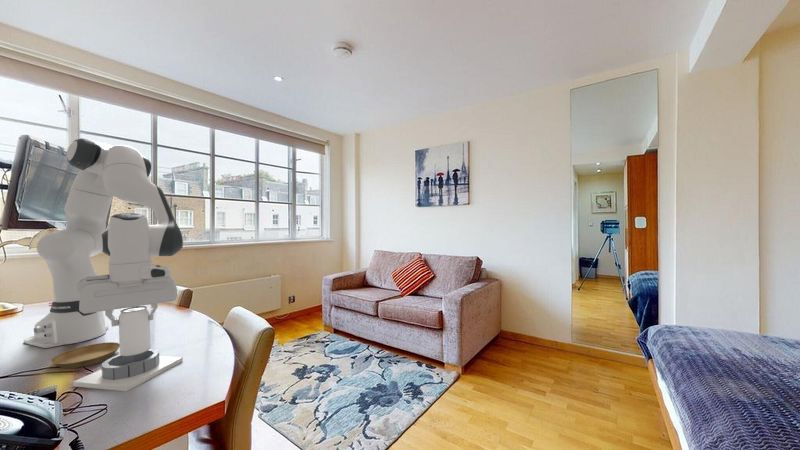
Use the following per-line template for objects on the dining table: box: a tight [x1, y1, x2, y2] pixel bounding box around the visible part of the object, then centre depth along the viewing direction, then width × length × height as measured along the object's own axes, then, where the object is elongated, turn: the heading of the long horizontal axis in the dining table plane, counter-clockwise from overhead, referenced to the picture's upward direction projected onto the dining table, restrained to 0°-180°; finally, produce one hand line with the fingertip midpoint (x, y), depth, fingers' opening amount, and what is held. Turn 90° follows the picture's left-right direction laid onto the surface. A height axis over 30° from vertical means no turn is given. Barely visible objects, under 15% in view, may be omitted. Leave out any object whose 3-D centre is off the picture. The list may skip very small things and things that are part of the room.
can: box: [118, 305, 152, 357], centre depth 85 cm, size 6×6×12 cm
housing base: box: [72, 348, 184, 392], centre depth 84 cm, size 16×16×4 cm
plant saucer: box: [50, 341, 120, 370], centre depth 93 cm, size 15×15×3 cm
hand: (133, 322), depth 85 cm, fingers closed on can, 6 cm apart
